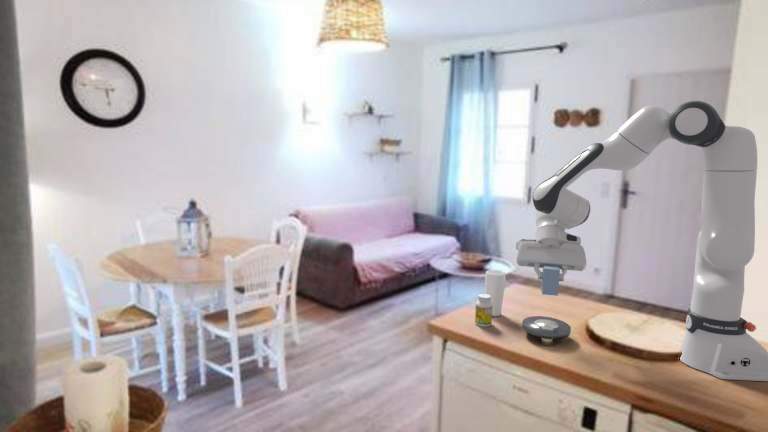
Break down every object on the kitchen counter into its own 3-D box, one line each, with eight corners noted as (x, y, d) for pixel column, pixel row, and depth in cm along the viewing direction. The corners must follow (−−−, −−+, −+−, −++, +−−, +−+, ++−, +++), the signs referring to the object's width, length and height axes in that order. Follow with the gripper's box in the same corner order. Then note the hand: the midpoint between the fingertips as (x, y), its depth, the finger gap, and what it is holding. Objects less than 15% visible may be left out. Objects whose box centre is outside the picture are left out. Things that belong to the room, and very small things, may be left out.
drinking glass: (503, 318, 156) (506, 275, 154) (483, 316, 158) (485, 274, 155) (502, 311, 163) (505, 270, 161) (483, 309, 164) (485, 269, 162)
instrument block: (556, 291, 142) (558, 266, 140) (557, 295, 138) (560, 269, 136) (541, 289, 143) (543, 264, 142) (542, 294, 139) (544, 268, 137)
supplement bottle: (494, 325, 150) (496, 297, 149) (481, 328, 148) (482, 299, 146) (485, 319, 155) (486, 292, 153) (471, 322, 153) (472, 294, 151)
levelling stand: (566, 330, 147) (567, 316, 146) (572, 349, 134) (574, 334, 133) (520, 325, 150) (521, 312, 150) (522, 343, 137) (523, 328, 136)
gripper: (517, 233, 147) (515, 271, 139) (586, 237, 142) (588, 277, 134) (515, 244, 152) (514, 281, 144) (582, 248, 147) (584, 287, 139)
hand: (550, 279), depth 139 cm, fingers closed on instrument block, 4 cm apart
